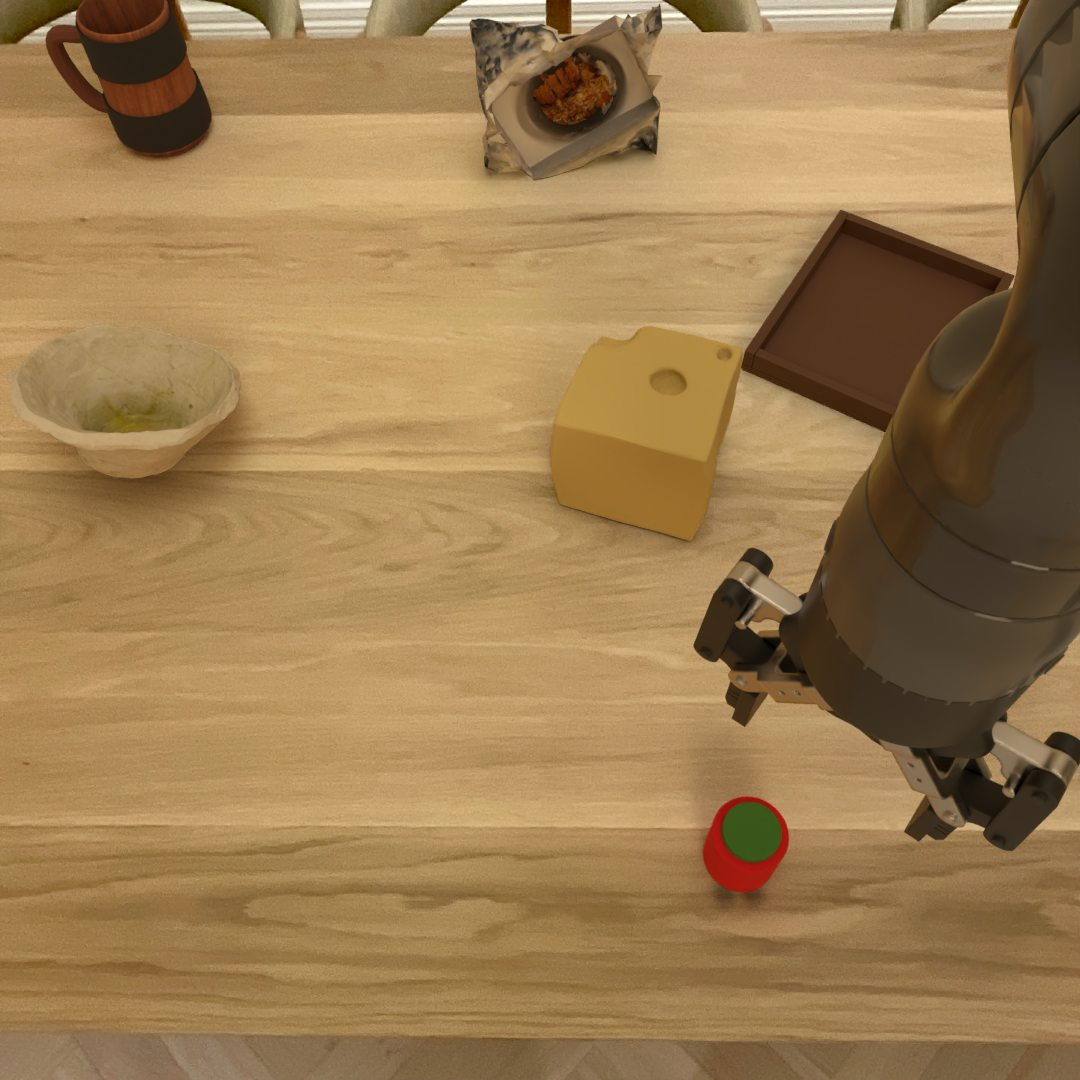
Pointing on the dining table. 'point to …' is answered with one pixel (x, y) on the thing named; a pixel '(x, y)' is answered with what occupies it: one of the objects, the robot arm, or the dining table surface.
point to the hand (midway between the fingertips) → (832, 761)
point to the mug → (136, 73)
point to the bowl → (125, 395)
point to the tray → (865, 316)
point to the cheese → (645, 429)
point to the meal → (566, 92)
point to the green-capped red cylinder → (745, 844)
